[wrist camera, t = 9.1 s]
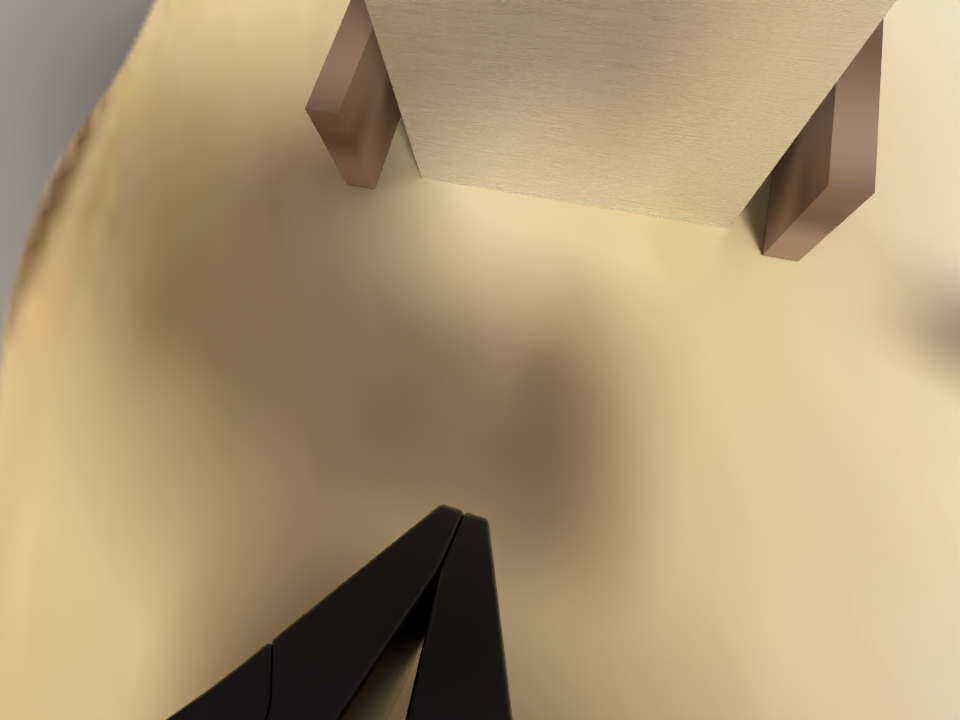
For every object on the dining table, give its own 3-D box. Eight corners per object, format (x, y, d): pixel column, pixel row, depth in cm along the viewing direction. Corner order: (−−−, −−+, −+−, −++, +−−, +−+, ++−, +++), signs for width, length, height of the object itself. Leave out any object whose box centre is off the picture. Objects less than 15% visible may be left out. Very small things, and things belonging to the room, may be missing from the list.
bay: (798, 261, 17) (874, 192, 14) (347, 184, 20) (305, 108, 16) (820, 26, 20) (888, -86, 16) (421, -15, 23) (400, -118, 19)
